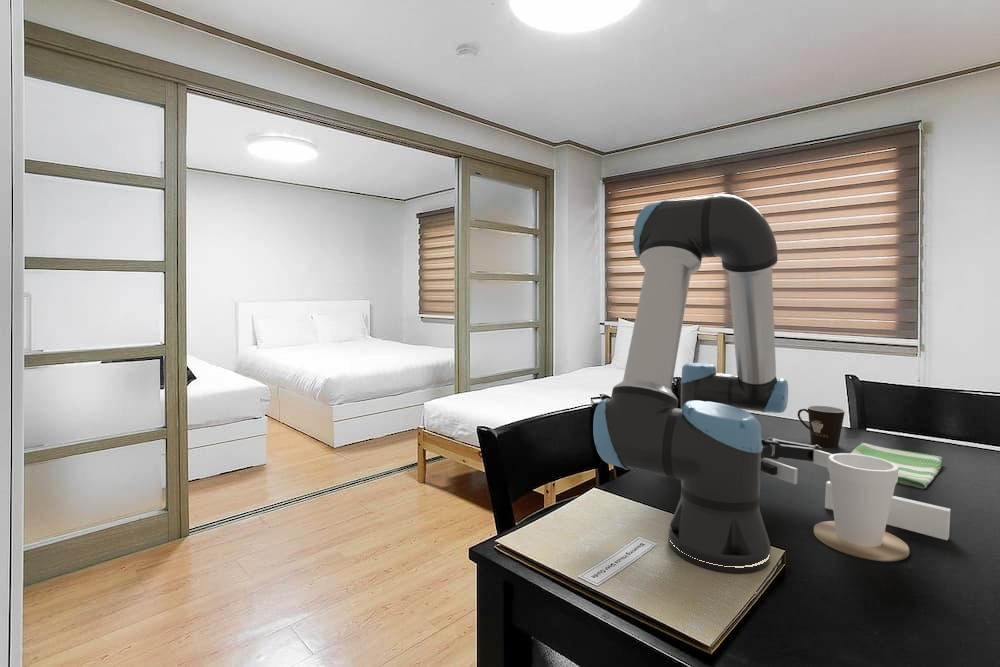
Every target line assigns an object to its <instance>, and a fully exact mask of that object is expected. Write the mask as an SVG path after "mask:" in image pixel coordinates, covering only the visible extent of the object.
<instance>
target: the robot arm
mask: <svg viewBox="0 0 1000 667" xmlns="http://www.w3.org/2000/svg"><path fill="white" fill-rule="evenodd" d="M632 236H633V240H632V246H633V251H634V254H635V255H636V257H637V258H638V259H639V263H640V265H641V266H642V268H643V269H644V275H643V279H642V284H641V289H640V294H639V298H638V303H637V304H638V305H637V309H636V313H635V319H634V324H633V329H632V335H631V338H630V344H629V348H628V354H627V360H626V363H625V364H626V365H625V369H624V373H623V379H622V381H621V382H619V383H618V384H616V385H614V386H613V387H612V391H611V395H610V398H604V399H601V400H599V402H598V405H596V407H595V411H594V414H593V421H592V422H593V424H592V426H593V427H592V429H593V430H592V432H593V434H592V435H593V440H594V445H595V448H596V451H597V453H598V455H599V457H600V458H601V460H602V461H604V462H605V463H606V464H609V465H611V466H615V467H618V468H622V469H624V470H627V471H628V470H629V471H630V470H631V471H638V472H643V473H648V474H652V475H656V476H662V477H667V478H670V479H671V478H673V479H677V480H680V484H681V486H680V499H679V501H678V504H677V506H676V510H675V512H674V513H673V514H674V515H673V516H672V519H671V522H670V525H669V528H668V544H669V546H670V548H671V549H672V551H673V552H674V553H675V554H677V555H678V556H679V557H680V558H682V559H684V560H686V561H688V562H690V563H692V564H694V565H695V566H696V565H697V566H699V567H701V568H706V569H709V570H713V571H718V572H722V573H731V574H732V573H733V574H735V573H736V574H738V573H739V574H743V573H744V574H745V573H753V572H758V571H760V570H763V569H765V568H766V567H767V566H768V565H769V564H770V561H771V556H770V557H769V559H768V560H767V561H766V562H764V563H763V564H760V565H757V566H753V567H744V568H735V567H724V566H745V565H752V564H755V563H758V562H760V561H762V560H764V559H766V558H767V557H768V555H769V554H770V555H771V542H770V539H769V536H768V532H767V530H766V527H765V523H764V520H763V517H762V514H761V509H760V494H761V492H760V491H761V473H762V474H765V475H768V476H770V477H773V478H776V479H779V480H781V481H784V482H787V483H789V484H792V485H797V484H798V469H799V468H797V467H794V466H792V465H788V464H784V463H782V462H779V461H776V460H778V459H779V458H784V459H790V460H792V459H793V460H800V461H808V462H813V463H812V464H814V465H817V466H820V467H823V468H826V469H828V457H829V456H830V455H831V454H832V453H830V452H827V451H823V449H822V448H823V447H820V446H819V445H816V444H815V445H813V444H808V443H802V442H801V443H800V442H795V441H788V440H781V439H778V438H775V437H768V438H767V439H765V438H762V426H761V423H760V421H759V420H758V418H757V417H756V416H755V415H754V414H752V413H750V412H748V411H754V412H761V413H770V414H772V413H774V414H777V413H778V414H781V413H784V412H785V411H786V409H787V407H788V400H789V384H788V381H787V379H785V378H779V377H777V366H776V362H777V361H776V345H775V344H776V338H775V337H776V336H775V320H774V319H775V318H774V317H775V314H774V313H775V312H774V290H773V289H774V286H773V267H775V266H776V265H777V263H778V260H779V259H778V246H777V241H776V238H775V235H774V232H773V230H772V228H771V226H770V224H769V222H768V221H767V220H766V218H765V217H764V216H763V214H762V213H761V212H760V211H759V210H758V209H757V208H756V207H755V206H754V205H752V204H751V203H750V202H748V201H747V200H745V199H743V198H741V197H738V196H736V195H732V194H715V195H709V196H701V197H699V196H698V197H693V198H692V197H691V198H684V199H677V200H671V199H668V200H667V199H665V200H661V201H659V202H652V203H649V204H647V205H645V206H644V207H643V208H642V209H641V211H640V212H639V214H638V215H637V216H636V220H635V223H634V227H633V234H632ZM716 257H718V258H719V257H720V258H721V266H722V269H723V270H724V271H726V272H727V273H728V283H729V296H730V305H731V306H730V307H731V317H732V327H733V328H732V329H733V340H734V341H733V342H734V355H735V366H736V374H731V373H720V372H719V373H718V371H717V367H716V365H715V364H711V363H705V362H688V363H685V364H684V365H682V367H681V368H682V369H681V378H680V379H681V380H680V408H678V407H679V399H678V398H677V396H676V395H675V394H674V393H673V390H672V387H673V381H674V375H675V371H676V370H675V369H676V365H677V364H676V363H677V358H678V352H679V346H680V340H681V335H682V334H681V333H682V328H683V322H684V316H685V311H686V304H687V299H688V293H689V287H690V281H691V276H692V275H694V274H696V273H697V272H698V271H699V270H701V266H702V259H704V258H716ZM773 452H774V454H773ZM669 538H670V539H669ZM670 540H671V542H672V543H673V544H672V543H671V542H670ZM673 545H675V547H674V546H673ZM676 547H677V548H678V549H679V550H680V551H679V550H678V549H677V548H676ZM681 551H682V552H683V553H682V552H681ZM684 553H685V554H684ZM686 554H687V555H686ZM688 555H689V556H688ZM690 556H691V557H690ZM692 557H693V558H692ZM694 558H696V559H694ZM697 559H698V560H697ZM699 560H702V561H705V562H702V561H699ZM706 562H709V563H713V564H718V565H723V566H718V565H713V564H709V563H706Z"/></svg>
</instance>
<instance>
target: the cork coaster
mask: <svg viewBox="0 0 1000 667" xmlns="http://www.w3.org/2000/svg"><path fill="white" fill-rule="evenodd" d="M813 534H814V536H815V538H816V539H817V540H819V542H821V544H822V543H823V545H826V546H827V547H829V548H831V549H833V550H835V551H837V552H841V553H843V554H845V555H849V556H853V557H855V558H860V559H863V560H864V559H865V560H870V561H878V562H899V561H903V560H905V559H907V558H908V557H909V556H910V547H909V545H908V544H907V543H906V542H905V541H903V540H902V539H901V538H899V537H897V536H896V535H894V534H892V533H891V532H887V531H886V530H885V533H884V537H883V540H882V544H881V546H876V547H866V546H860V545H856V544H852V543H850V542H847V541H844V540H843V539H841V538H840V537H838V536H837V534H836V529H835V521H834V520H827V521H819V522H818V523H816V524H814V527H813Z"/></svg>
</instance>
